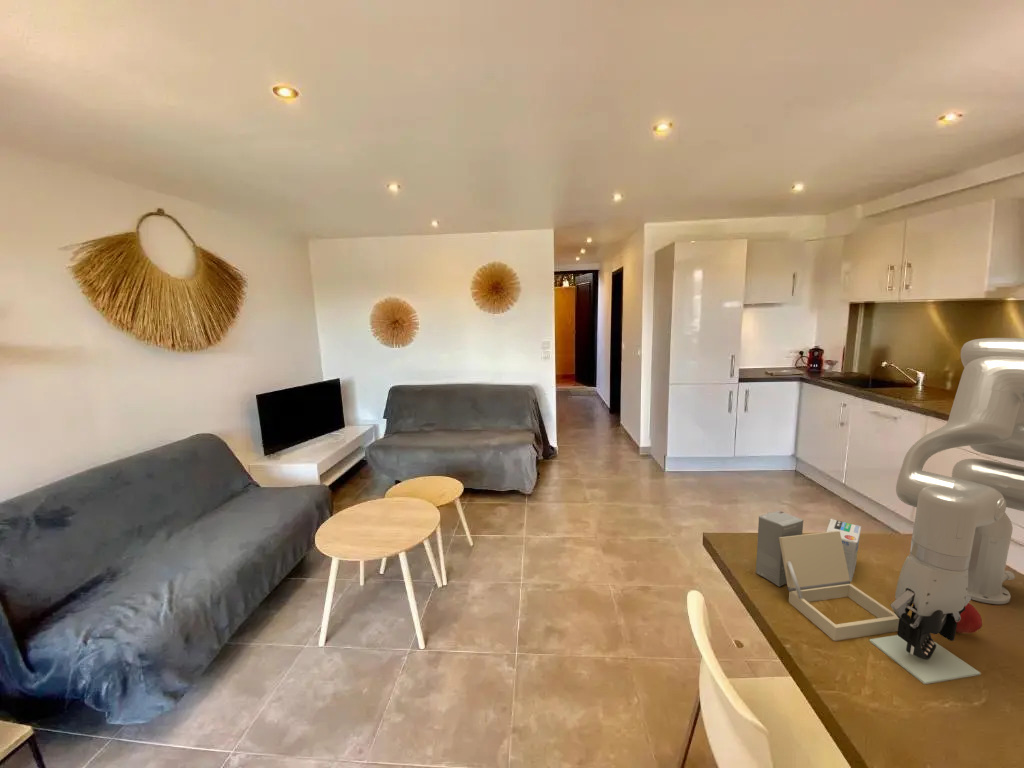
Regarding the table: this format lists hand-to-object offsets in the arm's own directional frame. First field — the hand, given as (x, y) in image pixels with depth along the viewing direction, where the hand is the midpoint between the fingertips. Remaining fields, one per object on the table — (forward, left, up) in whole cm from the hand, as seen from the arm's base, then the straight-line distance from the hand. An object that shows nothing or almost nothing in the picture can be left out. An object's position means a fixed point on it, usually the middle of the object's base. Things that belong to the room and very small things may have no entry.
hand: (925, 637), depth 78 cm
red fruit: (-14, -4, -4) cm, 15 cm away
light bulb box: (-10, -27, -4) cm, 29 cm away
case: (+5, -14, -4) cm, 16 cm away
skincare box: (+8, -27, -4) cm, 28 cm away
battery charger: (0, 0, -3) cm, 3 cm away
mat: (0, 0, -4) cm, 4 cm away
